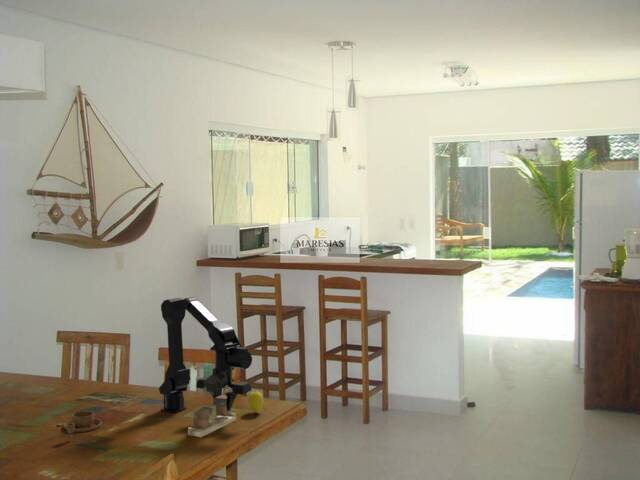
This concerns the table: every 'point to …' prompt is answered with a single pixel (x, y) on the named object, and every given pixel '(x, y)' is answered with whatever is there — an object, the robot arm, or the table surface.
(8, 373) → the table surface
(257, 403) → the lemon
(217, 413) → the gray and beige block
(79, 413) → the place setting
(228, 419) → the rail
